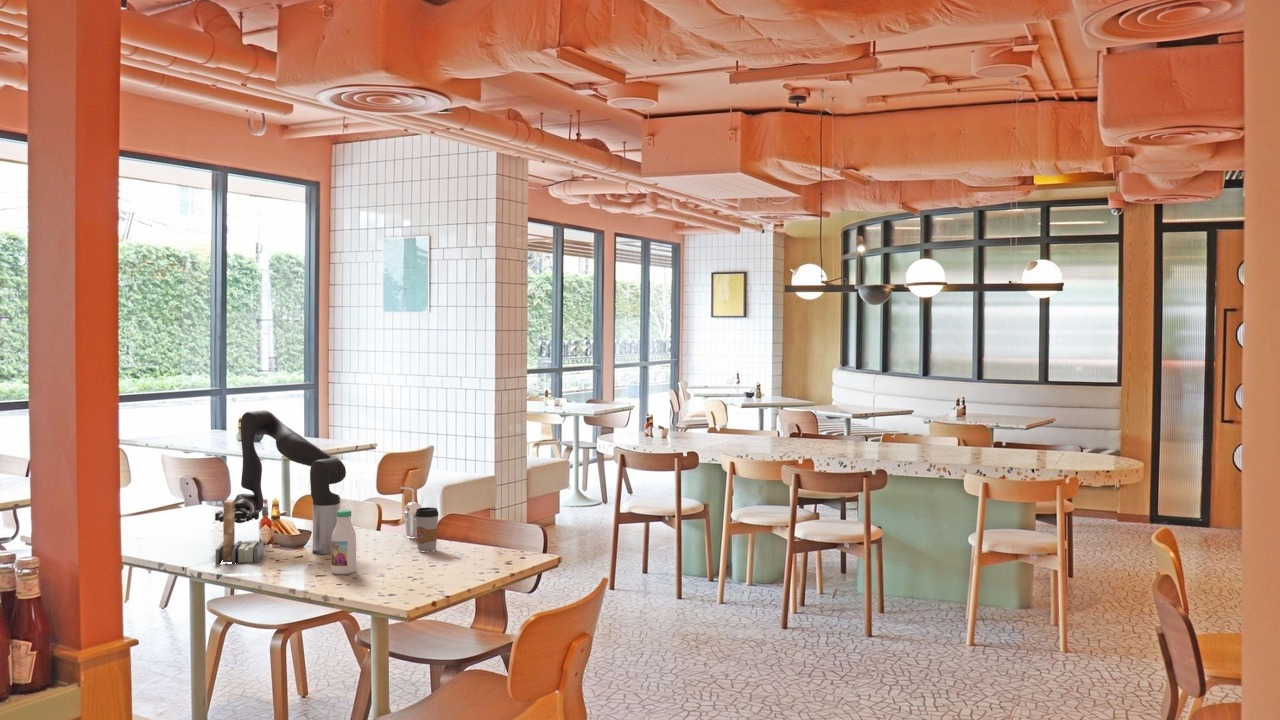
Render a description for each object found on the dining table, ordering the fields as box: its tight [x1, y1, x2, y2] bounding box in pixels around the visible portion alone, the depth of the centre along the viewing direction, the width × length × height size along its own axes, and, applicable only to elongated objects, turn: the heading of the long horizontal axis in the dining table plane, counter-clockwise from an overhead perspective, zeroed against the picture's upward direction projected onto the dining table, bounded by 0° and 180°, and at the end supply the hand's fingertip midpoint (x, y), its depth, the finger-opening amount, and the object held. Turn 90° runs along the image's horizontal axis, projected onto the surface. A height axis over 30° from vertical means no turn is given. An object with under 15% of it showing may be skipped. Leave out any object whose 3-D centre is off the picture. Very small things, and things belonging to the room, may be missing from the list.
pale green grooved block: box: [238, 540, 259, 562], centre depth 329 cm, size 5×10×5 cm, turn 14°
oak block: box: [222, 499, 236, 562], centre depth 327 cm, size 2×6×20 cm, turn 14°
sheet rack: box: [215, 539, 264, 565], centre depth 328 cm, size 13×14×6 cm
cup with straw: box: [398, 486, 423, 540], centre depth 373 cm, size 8×9×20 cm
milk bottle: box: [330, 509, 357, 575], centre depth 315 cm, size 8×8×20 cm
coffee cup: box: [415, 506, 439, 552], centre depth 350 cm, size 8×8×15 cm
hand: (234, 518), depth 338 cm, fingers open, 8 cm apart
